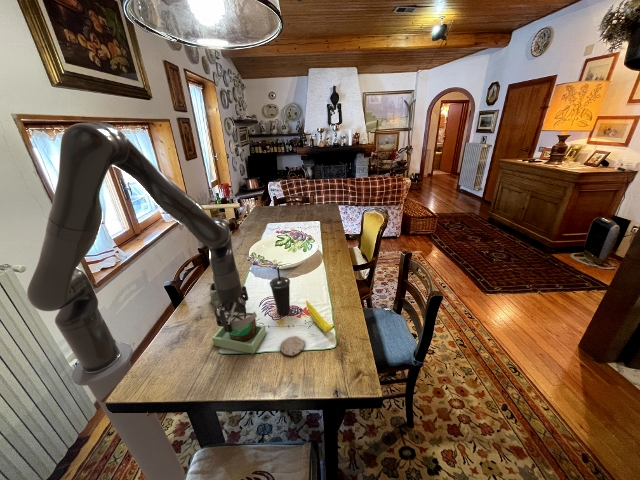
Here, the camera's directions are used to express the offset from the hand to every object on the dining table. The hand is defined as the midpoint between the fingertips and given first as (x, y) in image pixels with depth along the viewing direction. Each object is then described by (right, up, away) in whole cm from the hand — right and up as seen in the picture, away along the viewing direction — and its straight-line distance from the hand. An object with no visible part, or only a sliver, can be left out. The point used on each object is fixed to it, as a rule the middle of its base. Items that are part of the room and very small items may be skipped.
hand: (236, 322), depth 85 cm
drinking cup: (+14, -1, +16) cm, 21 cm away
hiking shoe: (-10, 0, +19) cm, 22 cm away
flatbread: (+19, -8, -1) cm, 21 cm away
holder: (0, -7, +3) cm, 8 cm away
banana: (+28, -4, +8) cm, 29 cm away
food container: (0, -7, +3) cm, 7 cm away
